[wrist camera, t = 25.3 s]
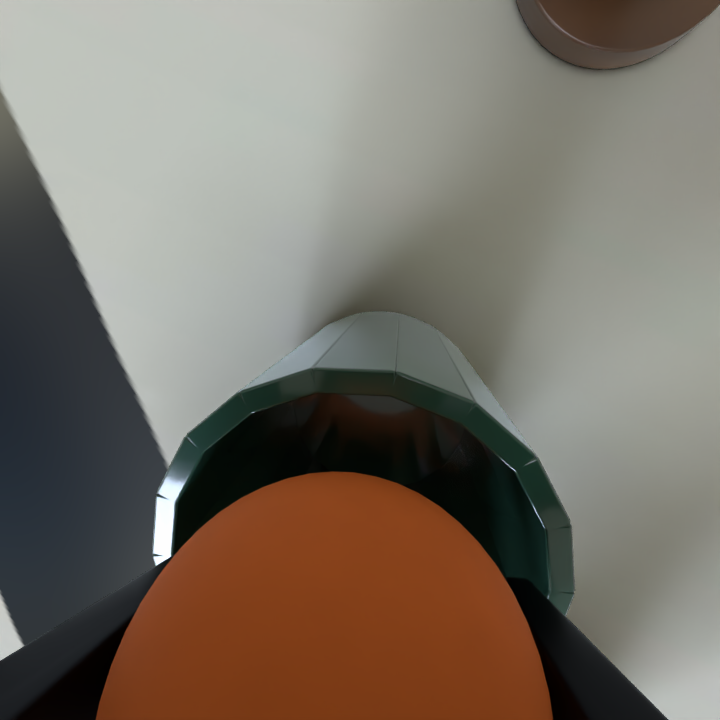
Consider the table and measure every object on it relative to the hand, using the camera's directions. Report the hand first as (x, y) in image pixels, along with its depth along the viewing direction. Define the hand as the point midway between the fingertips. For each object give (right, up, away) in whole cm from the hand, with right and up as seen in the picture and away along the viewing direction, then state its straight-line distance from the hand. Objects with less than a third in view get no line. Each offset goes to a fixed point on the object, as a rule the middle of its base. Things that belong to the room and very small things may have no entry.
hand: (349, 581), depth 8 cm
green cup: (+1, +2, +10) cm, 10 cm away
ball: (0, 0, -2) cm, 2 cm away
